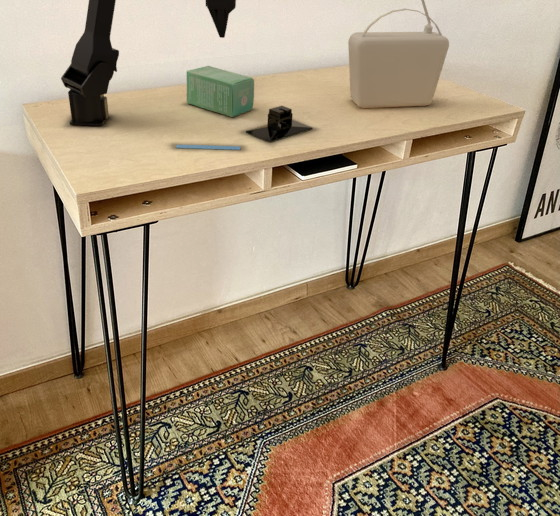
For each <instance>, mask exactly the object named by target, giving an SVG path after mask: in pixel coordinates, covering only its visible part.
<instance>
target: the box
mask: <svg viewBox="0 0 560 516" xmlns="http://www.w3.org/2000/svg"><path fill="white" fill-rule="evenodd" d="M254 101H255V79H254V78H253V77H251V76H248V75H243V74H240V73H237V72H234V71H233V72H232V71H230V70H225V69H222V68H218V67H214V66H212V65H205V66H202V67H201V66H200V67H197V68H193V69H188V70H186V103H187V104H188V105H191V106H196V107H198V108H202V109H204V110H207V111H211V112H214V113H218V114H220V115H223V116H227V117H230V118H234V117H238V116H239V115H243V114H245V113H247V112H250V111H252V110H253V109H254V108H253V107H254Z"/></svg>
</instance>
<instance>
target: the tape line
mask: <svg viewBox="0 0 560 516" xmlns="http://www.w3.org/2000/svg"><path fill="white" fill-rule="evenodd" d="M175 148H176V149H190V150H191V149H195V150H224V151H225V150H227V151H241V146H239V145H237V146H234V145H233V146H232V145H203V144H176V147H175Z"/></svg>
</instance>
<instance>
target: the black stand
mask: <svg viewBox="0 0 560 516" xmlns="http://www.w3.org/2000/svg"><path fill="white" fill-rule="evenodd" d="M292 111H293V110H292V108H289V107H287V106H284V105H279V106H275V107H271V108H268V114H267V124H265V125H262V126H258V127H255V128H251V129H248V130H245V134H247V135H250V136H252V137H254V138H257V139H259V140H262V141H264V142H266V143H269V144H271V143H273V142H276V141H280V140H283V139H286V138H290V137H292V136H296V135H299V134H302V133H306V132H308V131H312V130H313V127H312V126H310V125H307V124H305V123H302V122H299V121H297V120H294V119H293V114H294V113H292Z"/></svg>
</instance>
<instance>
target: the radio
mask: <svg viewBox="0 0 560 516" xmlns="http://www.w3.org/2000/svg"><path fill="white" fill-rule="evenodd" d="M420 2H421V4H422V8H423V10H424V13H423V12H421V11H419V10H416V9H412V8H411V9H410V8H398V9H393V10H390V11H388V12H386V13H383V14H382V15H379V16H378V17H377V18H376V19H374V20H373V21H372V22H371V23H370V24H369V25H367V27H366V28H365V29H364V30H363V32H360V31H358V32H353V33H352V34H351V35H350V36H349V38H348V42H347V45H348V69H349V96H350V99H351V101H353V103H354V104H355V105H357V106H358V107H359V108H361V109H375V108H377V109H378V108H379V109H380V108H396V107H397V108H398V107H399V108H400V107H403V108H404V107H426V106H430V105H431V104H432V102H433V100H434V96H435V93H436V90H437V87H438V84H439V81H440V77H441V74H442V70H443V67H444V64H445V61H446V58H447V54H448V51H449V49H450V41H449V38H447V36H444V35H443V34H442V32H441V29H440V28H439V26H438V24H437V23H436V22H435V21H434V20H433V19H432V18H431V17H430V15H429V12H428V9H427V5H426V1H425V0H420ZM401 11H411V12H417V13H419V14H422V15H424V16H425V18H426V21H427V24H426V25H424V27H423V31H369V30H370V28H371V27H372V26H373V25H374V24H376V23H377V22H378V21H379V20H381V19H382V18H384V17H386V16H388V15H390V14H393V13H396V12H401ZM431 23H432V24H433V25H434V26H435V28H436V30H437V32H436V31H433V29H434V28H433V26H432V24H431Z"/></svg>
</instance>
